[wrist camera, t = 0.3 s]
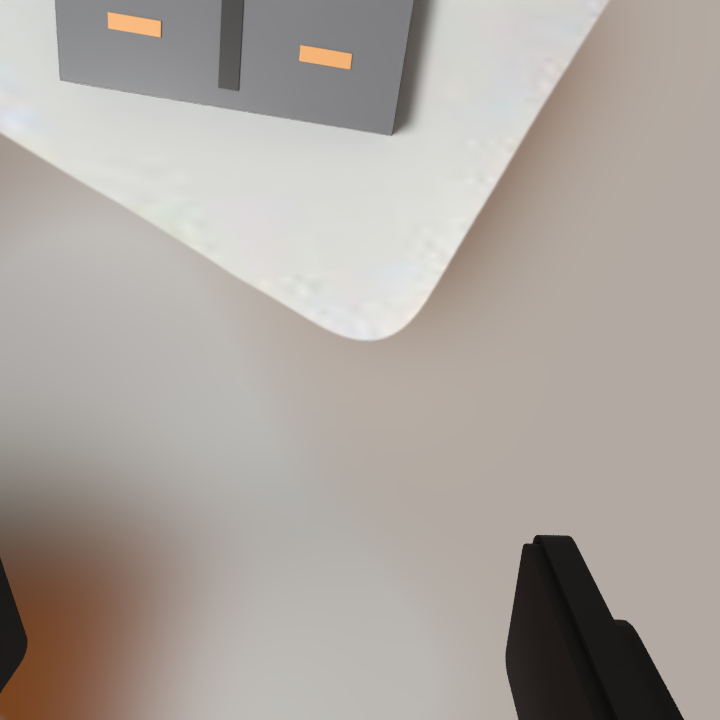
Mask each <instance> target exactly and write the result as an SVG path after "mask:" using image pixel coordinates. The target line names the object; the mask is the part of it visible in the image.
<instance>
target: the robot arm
mask: <svg viewBox="0 0 720 720" xmlns="http://www.w3.org/2000/svg"><path fill="white" fill-rule="evenodd" d="M26 649H27V636H26V634H25V630H24V627H23V625H22V622H21V618H20V615H19V612H18V609H17V606H16V603H15V600H14V597H13V594H12V591H11V588H10V585H9V582H8V579H7V577H6V574H5V571H4V567H3V564H2V561H1V559H0V693H1V691H2V690H3V688H4V687H5V685H6V684H7V682H8V681H9V679H10V678H11V676H12V675H13V673H14V672H15V670H16V669H17V668H18V666H19V665H20V663H21V661H22V660H23V658H24V655H25V653H26ZM506 669H507V675H508V679H509V683H510V687H511V691H512V695H513V699H514V703H515V707H516V711H517V715H518V719H519V720H684V719H683V717H682V715H681V713H680V711H679V710H678V708H677V706H676V704H675V702H674V700H673V698H672V697H671V695H670V693H669V691H668V689H667V687H666V685H665V684H664V682H663V680H662V678H661V676H660V674H659V672H658V670H657V669H656V667H655V665H654V663H653V661H652V659H651V657H650V655H649V654H648V652H647V650H646V648H645V646H644V644H643V642H642V640H641V639H640V637H639V635H638V633H637V632H636V630H635V629H634V627H633V626H632V625H631V624H629V623H628V622H627V621H625V620H614V619H613V617H612V615H611V613H610V611H609V609H608V607H607V605H606V603H605V601H604V599H603V597H602V595H601V594H600V591H599V589H598V587H597V585H596V583H595V581H594V579H593V577H592V576H591V573H590V571H589V569H588V567H587V565H586V563H585V561H584V559H583V557H582V555H581V553H580V551H579V549H578V548H577V545H576V543H575V542H574V540H573V539H572V537H570V536H559V535H558V536H557V535H536V536H535V538H534V540H533V543H532V544H524V545H523V549H522V554H521V561H520V567H519V573H518V579H517V585H516V592H515V598H514V604H513V610H512V616H511V622H510V628H509V635H508V641H507V647H506Z"/></svg>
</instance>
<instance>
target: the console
mask: <svg viewBox="0 0 720 720" xmlns="http://www.w3.org/2000/svg"><path fill="white" fill-rule="evenodd" d="M413 1H414V0H55V9H56V25H57V41H58V57H59V73H60V80H61V81H66V82H71V83H76V84H81V85H87V86H93V87H99V88H105V89H111V90H118V91H124V92H130V93H136V94H142V95H148V96H154V97H160V98H166V99H172V100H178V101H184V102H190V103H196V104H202V105H208V106H214V107H220V108H226V109H232V110H238V111H244V112H250V113H256V114H262V115H268V116H274V117H280V118H286V119H292V120H298V121H304V122H310V123H316V124H322V125H328V126H334V127H340V128H346V129H352V130H358V131H364V132H370V133H376V134H382V135H388V136H392V131H393V125H394V119H395V112H396V106H397V100H398V94H399V88H400V82H401V75H402V69H403V63H404V57H405V51H406V44H407V38H408V32H409V26H410V20H411V14H412V7H413Z"/></svg>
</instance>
